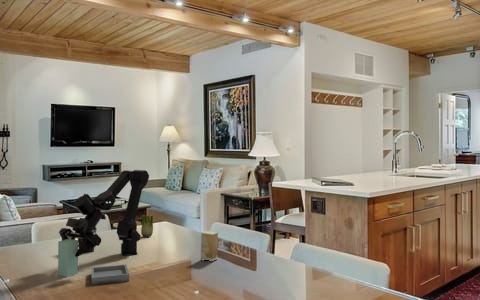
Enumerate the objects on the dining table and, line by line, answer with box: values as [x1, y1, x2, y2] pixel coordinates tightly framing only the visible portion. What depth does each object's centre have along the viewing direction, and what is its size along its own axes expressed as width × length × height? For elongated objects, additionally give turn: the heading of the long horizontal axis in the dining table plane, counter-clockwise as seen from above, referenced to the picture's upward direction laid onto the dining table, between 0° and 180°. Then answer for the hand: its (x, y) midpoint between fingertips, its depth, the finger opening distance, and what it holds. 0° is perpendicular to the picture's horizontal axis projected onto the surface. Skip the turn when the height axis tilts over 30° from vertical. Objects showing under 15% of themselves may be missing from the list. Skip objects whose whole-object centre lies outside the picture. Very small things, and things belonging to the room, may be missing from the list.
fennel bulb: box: [140, 214, 154, 238], centre depth 220 cm, size 6×5×12 cm
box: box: [91, 263, 130, 286], centre depth 152 cm, size 13×13×2 cm
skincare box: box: [200, 230, 219, 261], centre depth 176 cm, size 6×4×12 cm
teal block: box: [57, 239, 79, 278], centre depth 155 cm, size 5×5×13 cm
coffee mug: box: [77, 230, 97, 254], centre depth 189 cm, size 12×9×10 cm
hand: (67, 254), depth 155 cm, fingers open, 9 cm apart
